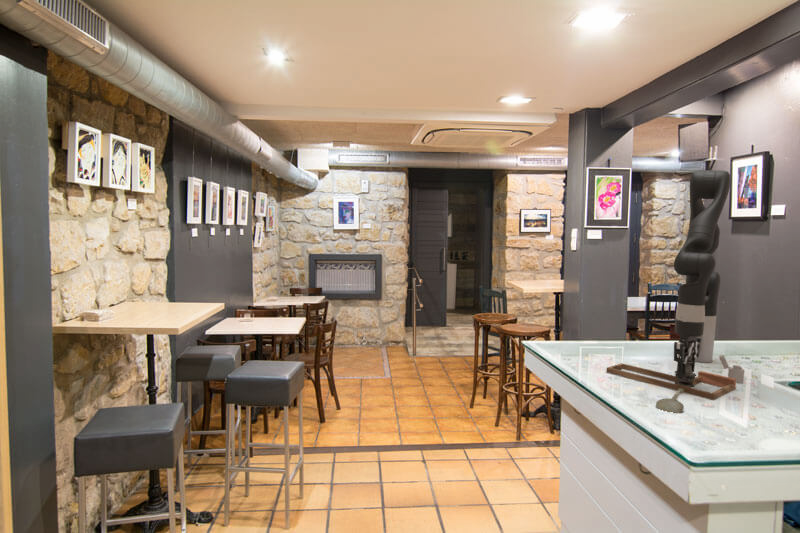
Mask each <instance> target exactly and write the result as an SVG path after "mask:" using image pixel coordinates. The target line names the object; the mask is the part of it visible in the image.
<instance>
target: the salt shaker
mask: <svg viewBox="0 0 800 533" xmlns="http://www.w3.org/2000/svg"><path fill="white" fill-rule="evenodd" d="M684 353H685V352H684ZM684 357H685V356H684ZM692 363H693V361H692V351H691V354H690V357H688V358H687V362H686V373H685V376H680V375H677V370H674V376H676V378H677V379H678V380H679V381H677V382H674V384H678V385H682V386H686V387H690V388H695V385H693V384H692V383H689V382H692V381H694V379H695V377H697V374H696V373H695V372H692Z"/></svg>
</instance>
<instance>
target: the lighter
mask: <svg viewBox="0 0 800 533" xmlns="http://www.w3.org/2000/svg"><path fill="white" fill-rule="evenodd" d="M718 358H719V360H720V363H721V365H722V368H723V369H724V370H726V369H727V370H728V371H727V372H728V373H727V374H728V375H727V377H729V378H734V379H736V384H737V383H738V384H741V385H742V384H744V378H745V377H744V375H745V369H744V368H743V367H742V366H741V365H735V364H733V366H732V367H731V366H729V363H728V362H727V360H726V358H725V356H724V354H721V355H718Z"/></svg>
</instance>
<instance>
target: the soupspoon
mask: <svg viewBox="0 0 800 533" xmlns="http://www.w3.org/2000/svg"><path fill="white" fill-rule="evenodd" d="M679 394H685V393H684V390H683V389H682V388H679V389H678V391H677V390H676V392H675V393H674V395H672V397H671V398H661V399H659V400H657V401H656V402H655V407H656V409H658V410H659V409H660V411H662V410H663V412H665V411H667V412H666V413H670V412H673V413H672V414H678V413H680V414H681V413H682V412H683V411H684V409H685V406H684V404H683V403H682V401H679V400H677V397H678V395H679Z"/></svg>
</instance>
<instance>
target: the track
mask: <svg viewBox="0 0 800 533" xmlns="http://www.w3.org/2000/svg"><path fill="white" fill-rule="evenodd" d="M624 370H625V371H624ZM630 371H631V372H630ZM605 372H606V373H607V374H610V375H615V376H620V377H623V378H627V379H630V380H635V381H638V382H643V383H647V384H651V385H654V386H656V387H657V386H658V387H662V388H666V389H670V390H674V391H676V392H677V391H678V389H679V388H682V389H683V390H684V393H683V394H685V393H686V394H690V395H693V396H696V397H701V398H704V397H705V398H704V399H708V400H713V401H714V399H715V400H717V399H718V398H721V397H722V396H725V395H726V394H728V393H730V392H732V391H734V390H735V389H736V387H737V383H736V379H734V378H729V377H728V376H724V375H720V374H716V373H711V372H706V371H702V370H700V371H698V372H697V376H695V379H694V381H692V382H689V383H692V384H693V385H694V386H695V385H698V384H700V383H704V384H708V385H712V386H716V387H720V388H719V389H717V390H715V391H713V392H710V391H705V390H701V389H699V388H698V389H697V388H695V387H693V388H690V387H686V386H682V385H678V384H675V382H677V381H679V380H678V379H677V378H676V376H675V375H673V374H669V373H664V372H660V371H656V370H652V369H648V368H643V367H638V366H634V365H631V364H630V365H629V364H627V363H621V362H620V363H618V364H615V365H611V366H608V367H606V371H605ZM637 373H638V374H637ZM644 375H646V376H644ZM648 376H649V377H648ZM653 377H655V378H653ZM658 378H659V379H658ZM661 379H663V380H661ZM665 380H667V381H665ZM668 381H669V382H668ZM716 398H717V399H716Z"/></svg>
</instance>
